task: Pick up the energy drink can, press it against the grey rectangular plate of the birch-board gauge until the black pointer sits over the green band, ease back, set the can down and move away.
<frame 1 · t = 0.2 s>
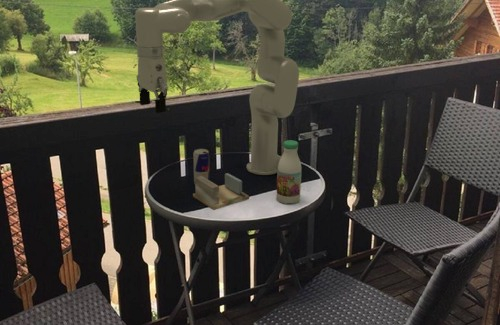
hand: (152, 108, 166), 31 cm above the table, tool pointing down, fingers open, 9 cm apart
energy drink: (201, 184, 189), on the table
grey rectangular plate: (218, 198, 179), resting on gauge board, slide at 0.0 cm
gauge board: (218, 198, 179), on the table
milk bottle: (288, 200, 179), on the table
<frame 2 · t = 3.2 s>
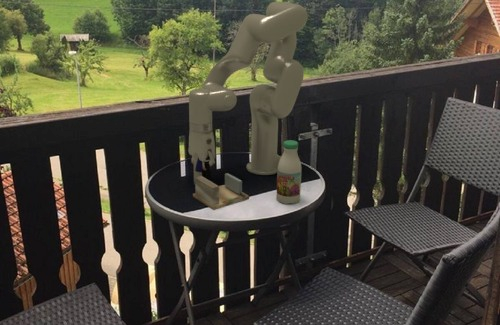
hand: (201, 176, 188), 3 cm above the table, tool pointing down, fingers closed on energy drink, 5 cm apart
energy drink: (201, 184, 189), on the table, touching gripper
everything else where it was.
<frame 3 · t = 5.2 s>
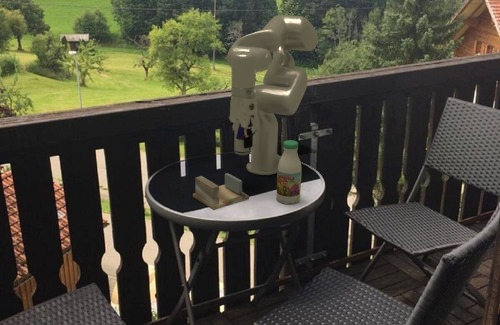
hand: (242, 144, 180), 16 cm above the table, tool pointing down, fingers closed on energy drink, 5 cm apart
energy drink: (242, 153, 181), point 13 cm above the table, touching gripper
everything else where it was.
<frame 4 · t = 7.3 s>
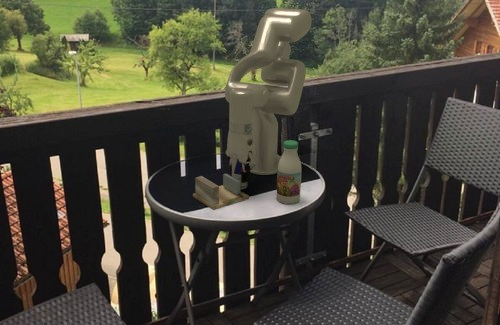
hand: (240, 178, 182), 5 cm above the table, tool pointing down, fingers closed on energy drink, 5 cm apart
energy drink: (239, 187, 183), point 2 cm above the table, touching grey rectangular plate, gripper
grey rectangular plate: (216, 198, 178), resting on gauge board, slide at 0.7 cm, touching energy drink
everything else where it was.
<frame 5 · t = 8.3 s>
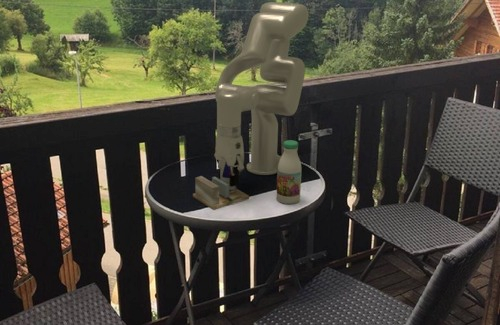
hand: (228, 181, 179), 5 cm above the table, tool pointing down, fingers closed on energy drink, 5 cm apart
energy drink: (228, 190, 180), point 2 cm above the table, touching grey rectangular plate, gripper
grey rectangular plate: (205, 202, 176), resting on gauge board, slide at 5.2 cm, touching energy drink
everything else where it was.
when the fingers open (4 cm above the table, at t = 11.3 s): energy drink stays where it is, on the table.
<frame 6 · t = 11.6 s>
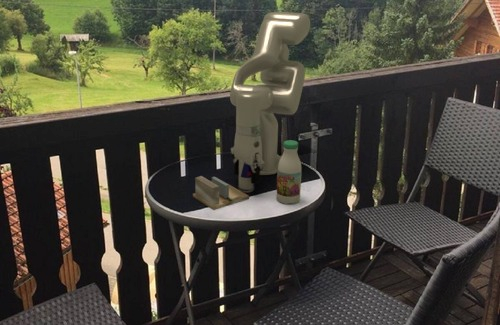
hand: (246, 178, 184), 4 cm above the table, tool pointing down, fingers open, 8 cm apart
energy drink: (246, 190, 186), on the table
grey rectangular plate: (204, 202, 176), resting on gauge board, slide at 5.3 cm
everything else where it was.
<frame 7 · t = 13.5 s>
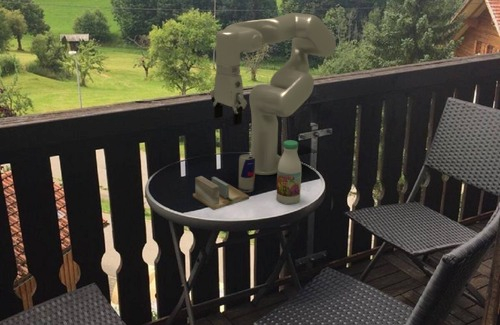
hand: (227, 120, 181), 23 cm above the table, tool pointing down, fingers open, 9 cm apart
nothing on the table moved.
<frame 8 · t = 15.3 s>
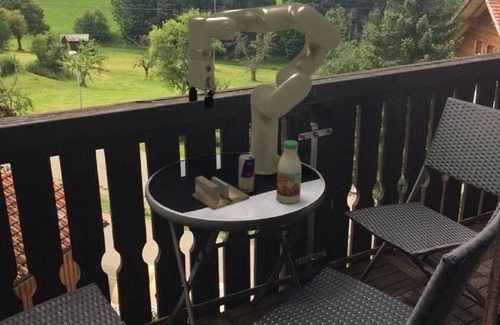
hand: (200, 104, 186), 26 cm above the table, tool pointing down, fingers open, 9 cm apart
nothing on the table moved.
at the end: grey rectangular plate slide at 5.3 cm; energy drink tilted 0°; the gripper is holding nothing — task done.
